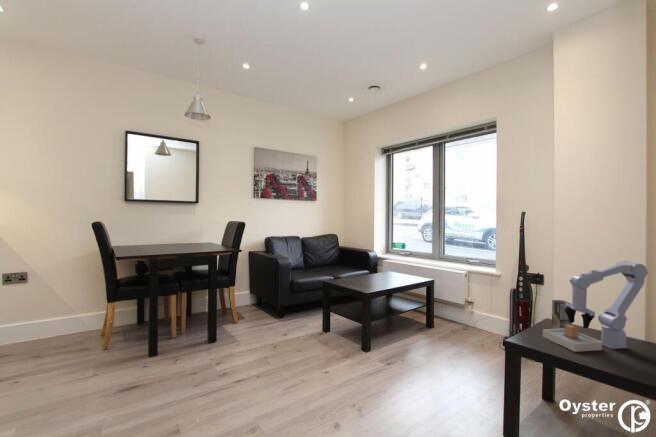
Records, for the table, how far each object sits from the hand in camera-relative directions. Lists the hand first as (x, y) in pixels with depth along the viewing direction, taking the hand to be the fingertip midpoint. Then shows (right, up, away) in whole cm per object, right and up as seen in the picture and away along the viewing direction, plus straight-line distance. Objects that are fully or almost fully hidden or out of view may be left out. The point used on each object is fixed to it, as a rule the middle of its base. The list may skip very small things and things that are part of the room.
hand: (578, 325), depth 159 cm
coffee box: (+6, -9, +19) cm, 22 cm away
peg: (-4, -9, 0) cm, 9 cm away
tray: (-3, -9, 0) cm, 10 cm away
